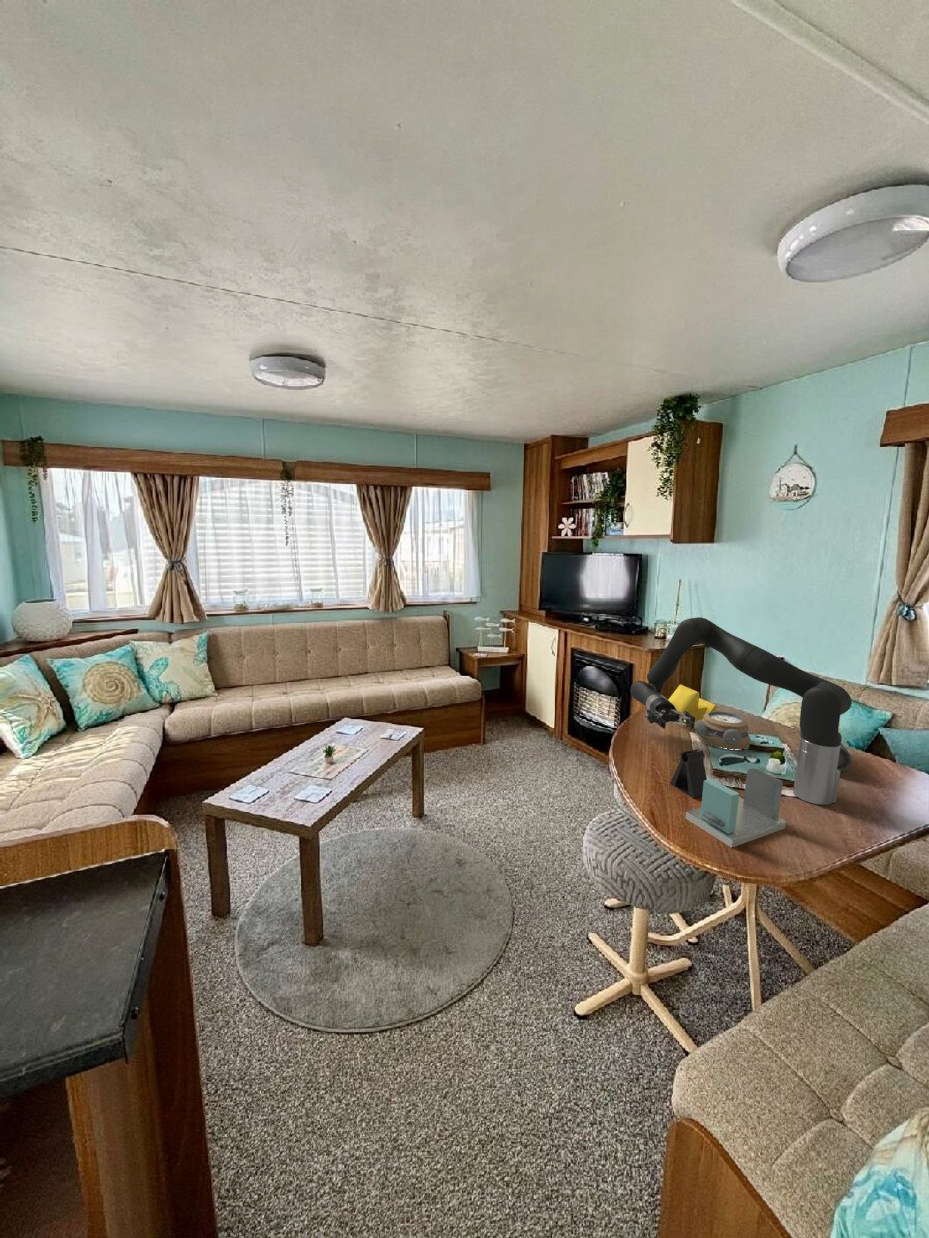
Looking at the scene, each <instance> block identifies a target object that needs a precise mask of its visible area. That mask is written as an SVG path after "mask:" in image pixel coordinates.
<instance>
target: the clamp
mask: <svg viewBox="0 0 929 1238" xmlns="http://www.w3.org/2000/svg"><path fill="white" fill-rule="evenodd" d="M667 699H668V700H669V701H670V702H671V703H672V704H673V705H674V706H675V708H676V711H678V712H680V713H683V714H684V712H685V711H687V712H689V713H690V714H692V715H693V716H694V717H695V723H696V722H697V721H699V720H702V719H703V718H704V715H705V714H707V713H710V712H721V711H720V710H719V709H718V708H719V707H718V706H717V705H716V704H714V703H712V702H709V701H708V700H704V699H703V698H701V697H700V692H699V691H696V690H694V689H692V688H690V687H687V686H685V685H683V684H681V683H680V684H679V685H678V687H677V688H676V689H675V690H674V691H673V693H672V694H671V695H670V697H669V698H667ZM678 721H680V719H679V720H678ZM684 722H686V720H684ZM694 728H695V725H694ZM694 728H693V729H694Z"/></svg>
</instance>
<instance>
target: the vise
mask: <svg viewBox="0 0 929 1238" xmlns="http://www.w3.org/2000/svg"><path fill="white" fill-rule="evenodd" d="M783 785H784V780H781V779H780V778H777V777H775V776H773V775H770V774H769V773H766V772H764V771H762V770H759V769H757V768H755V767H752V768H748V769H746V778H745V787H744V796H743V798H742V797H741V796H739V801H738V810H737V818H736V827H735V832H732V833H729V834H727V833H726V832H724V831H722V830H721V829H719V828H718V827H716V826H714V825H713V824H711V823H709V822H708V821H706V820H705V819H703V818H701V817H700V814H701V806H699V807H696V808H693V809H689V810H686V811H685V820H687V821H688V822H691V823H692V824H693V825H695V826H697V827H698V828H700V829H701V830H703V831H704V832H706V833H708V834H709V835H711V836H712V837H714V838H715V839H717V840H719V841H720V842H721V843H724V845H726V846H728V847H730V848H731V849H732V847H733V848H735V847H737V846H741V845H742V844H746V843H749V842H751V841H755V840H757V839H760V838H762V837H765V836H768V835H770V834H773V833H776V832H780V831H783V830H784V829H786V825H787V824H786V823H787V821H786V820H785V819H782V818H781V817H779V814H780V807H781V799H782V793H783Z"/></svg>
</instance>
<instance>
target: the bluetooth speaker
mask: <svg viewBox="0 0 929 1238" xmlns="http://www.w3.org/2000/svg"><path fill="white" fill-rule="evenodd" d="M799 736H800V738H801V729H799ZM851 763H852V757H851V754H850V752H849V751H848V749H847V748H846V747H845V745H844V744H843V743H842V742H841V746H840V752H839V759H838V766H837V769H838V770H839V771H840V772H844V771H845V770H846V769H849V767H850V766H851Z"/></svg>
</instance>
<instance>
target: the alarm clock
mask: <svg viewBox="0 0 929 1238" xmlns="http://www.w3.org/2000/svg"><path fill="white" fill-rule="evenodd" d="M748 725H749V724H748V720H746V719H744V718H743V717H742V716H740V715H737V714H735V713H731V712H727V711H720V712H710V713H707V714H705V715H704V718H703V719H702V720H699V721H697V722H696V723H695V728H693V730H694V731H695V734H696V735H697V739H698V740H699V741H700V742H701V743H703V742H704V743H703V744H705V743H706V745H707V744H709V745H712V746H715V747H722V748H727V749H745V748H747V747H749V748H750V746H751V745H750V744H751V736H750V734H749V733H748V732H749V730H750V728H749V726H748ZM709 745H708V746H709ZM749 745H750V746H749ZM712 746H711V747H712ZM715 747H714V748H715ZM747 749H748V748H747ZM745 750H746V749H745Z"/></svg>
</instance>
